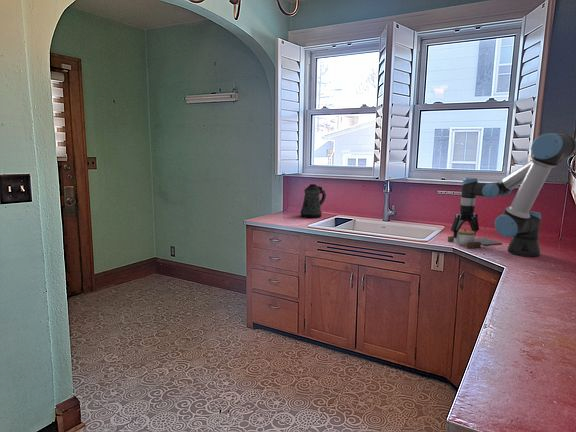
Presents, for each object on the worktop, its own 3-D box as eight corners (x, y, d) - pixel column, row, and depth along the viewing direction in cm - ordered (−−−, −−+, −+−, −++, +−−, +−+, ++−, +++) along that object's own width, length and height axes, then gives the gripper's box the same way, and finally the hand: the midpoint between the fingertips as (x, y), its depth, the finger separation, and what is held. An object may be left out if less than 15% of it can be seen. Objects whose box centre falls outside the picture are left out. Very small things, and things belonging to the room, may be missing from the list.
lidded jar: (469, 242, 234) (471, 227, 232) (476, 247, 224) (478, 230, 222) (451, 241, 235) (452, 226, 234) (456, 246, 225) (458, 230, 223)
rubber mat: (501, 244, 231) (502, 243, 231) (484, 245, 227) (484, 244, 227) (484, 239, 243) (484, 237, 243) (467, 240, 239) (467, 239, 239)
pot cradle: (480, 247, 223) (480, 242, 222) (468, 248, 220) (469, 243, 220) (458, 240, 239) (459, 235, 238) (447, 241, 236) (448, 236, 236)
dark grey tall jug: (296, 216, 307) (296, 184, 303) (310, 213, 323) (311, 182, 318) (314, 219, 298) (315, 186, 293) (327, 216, 313) (328, 184, 308)
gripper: (478, 203, 232) (474, 240, 236) (446, 204, 225) (442, 242, 229) (488, 205, 225) (484, 243, 229) (455, 206, 218) (451, 245, 222)
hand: (463, 242), depth 229 cm, fingers closed on lidded jar, 11 cm apart
